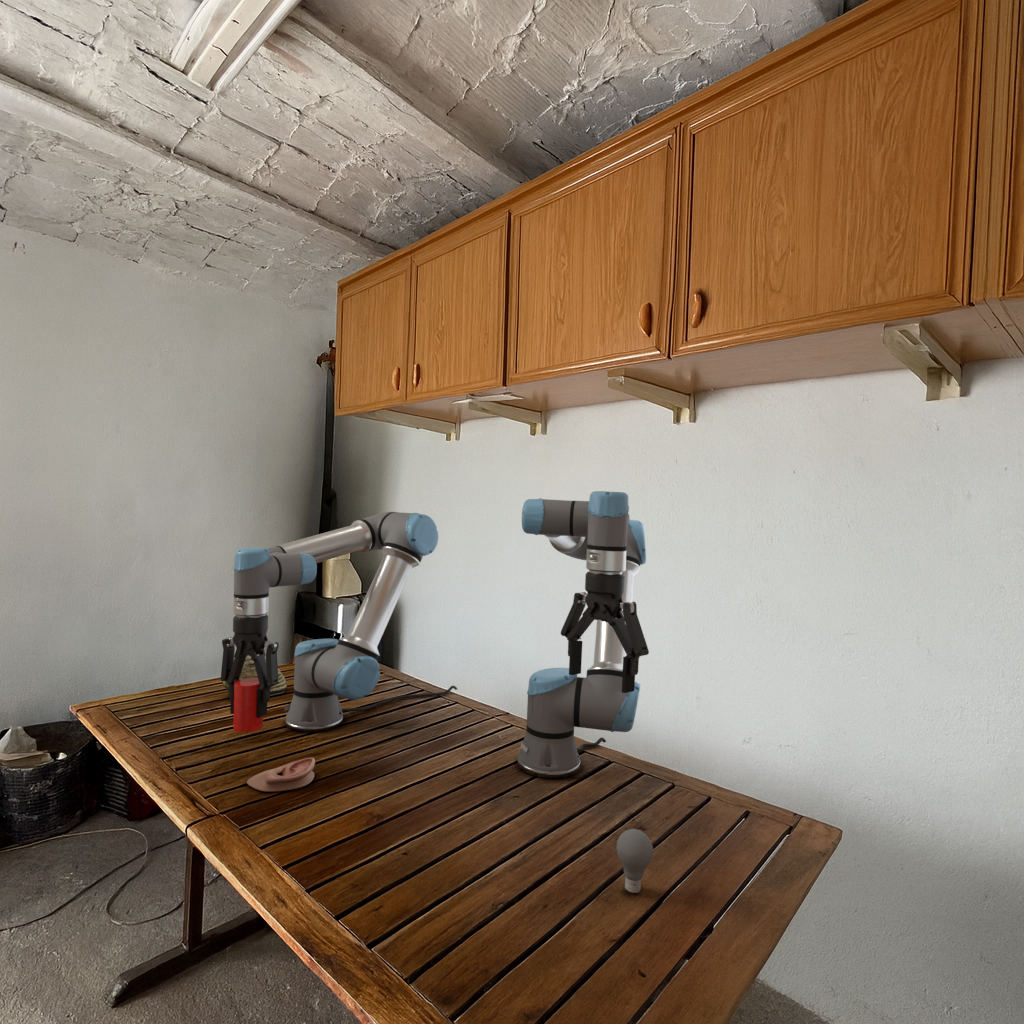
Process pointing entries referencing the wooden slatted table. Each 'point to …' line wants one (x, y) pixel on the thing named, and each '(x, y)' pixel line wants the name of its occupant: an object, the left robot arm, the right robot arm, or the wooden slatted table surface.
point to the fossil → (250, 672)
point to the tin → (246, 705)
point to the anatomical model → (284, 776)
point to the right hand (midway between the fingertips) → (600, 682)
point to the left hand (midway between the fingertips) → (248, 713)
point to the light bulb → (634, 857)
